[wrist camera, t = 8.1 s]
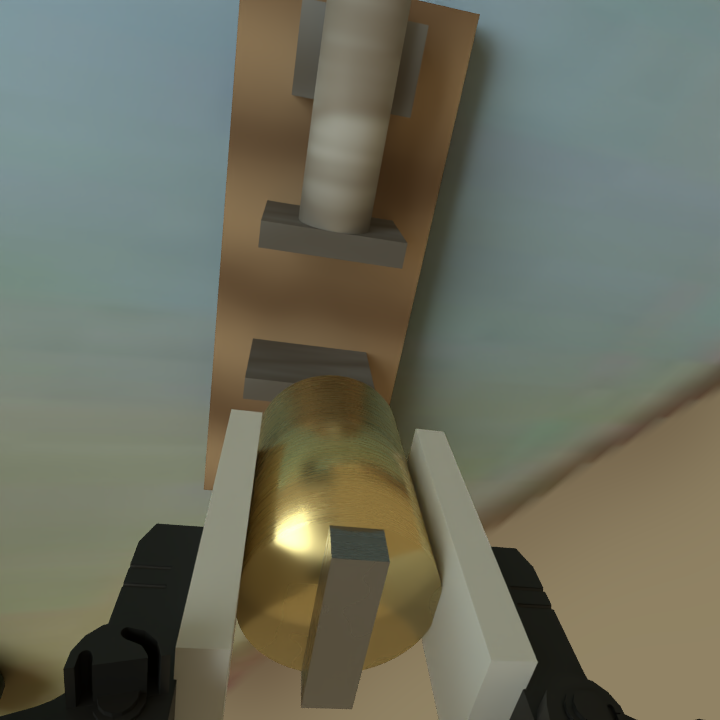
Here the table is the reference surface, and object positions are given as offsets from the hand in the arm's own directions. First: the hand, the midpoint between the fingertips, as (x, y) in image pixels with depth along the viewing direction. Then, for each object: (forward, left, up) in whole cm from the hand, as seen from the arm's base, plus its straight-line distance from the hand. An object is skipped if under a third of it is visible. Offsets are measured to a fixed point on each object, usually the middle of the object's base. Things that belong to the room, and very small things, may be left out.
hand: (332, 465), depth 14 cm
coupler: (0, 0, -2) cm, 2 cm away
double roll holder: (0, 0, -15) cm, 15 cm away
